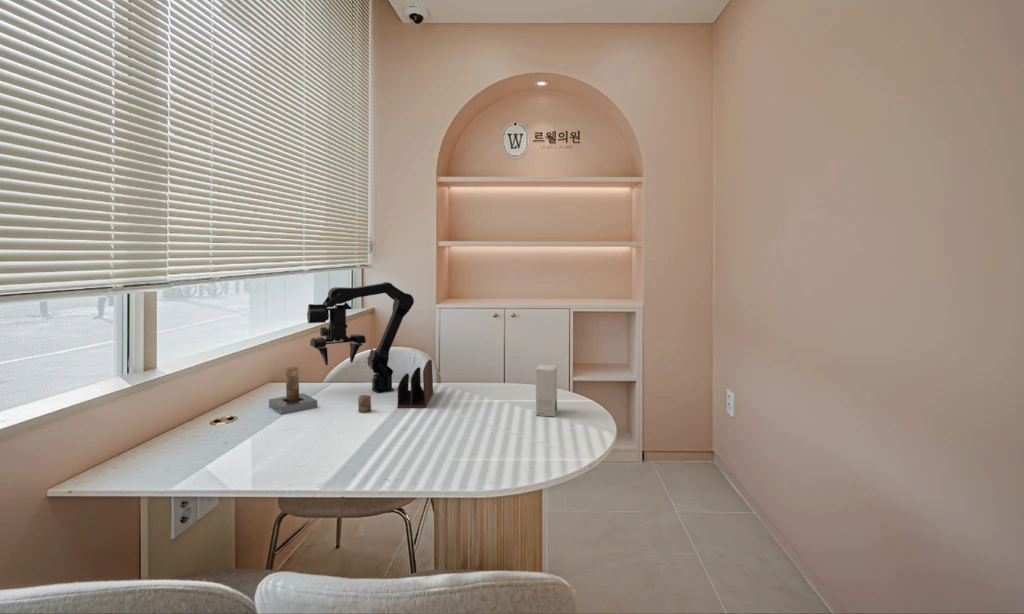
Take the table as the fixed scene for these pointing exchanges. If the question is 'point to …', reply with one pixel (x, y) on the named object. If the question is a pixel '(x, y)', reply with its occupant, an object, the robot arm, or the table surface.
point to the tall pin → (292, 384)
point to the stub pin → (364, 403)
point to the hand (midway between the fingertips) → (339, 363)
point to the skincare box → (546, 390)
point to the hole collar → (292, 404)
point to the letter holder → (416, 388)
